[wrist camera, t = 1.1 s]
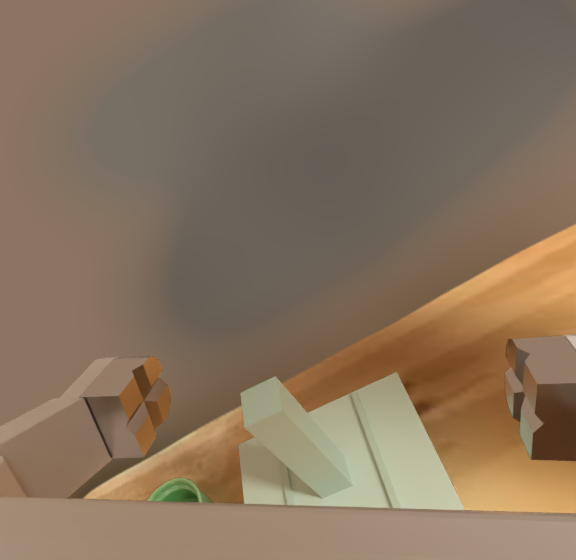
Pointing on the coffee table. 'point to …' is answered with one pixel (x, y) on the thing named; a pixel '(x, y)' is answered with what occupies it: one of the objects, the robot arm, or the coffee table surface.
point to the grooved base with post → (341, 451)
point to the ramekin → (179, 492)
